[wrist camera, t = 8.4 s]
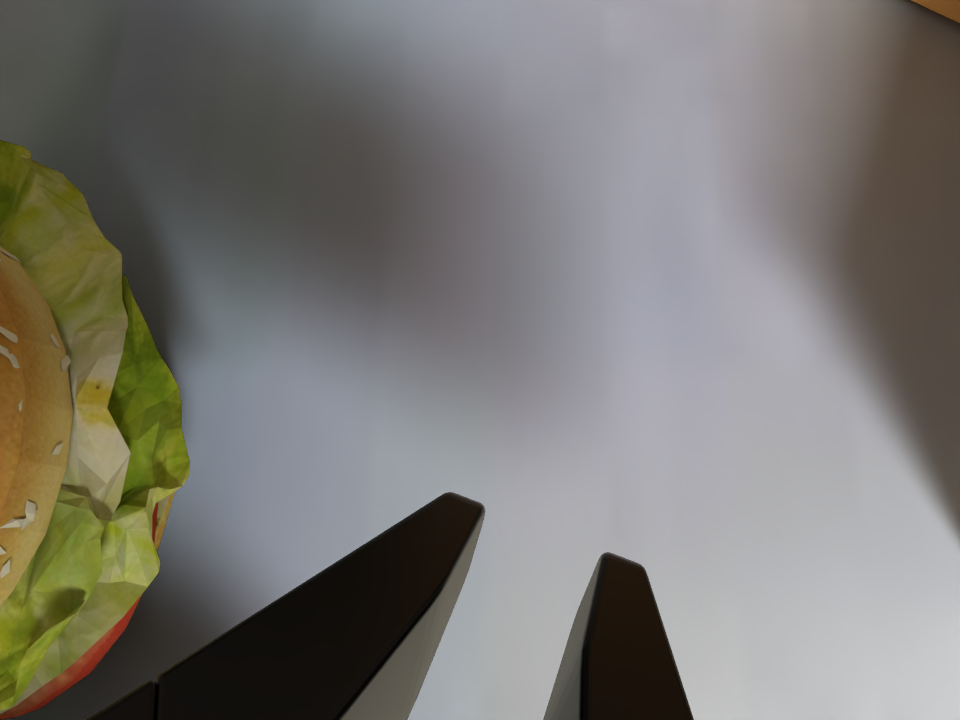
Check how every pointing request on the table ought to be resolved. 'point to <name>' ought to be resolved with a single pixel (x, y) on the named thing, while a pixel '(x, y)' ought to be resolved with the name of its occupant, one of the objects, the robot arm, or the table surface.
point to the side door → (943, 7)
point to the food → (73, 439)
